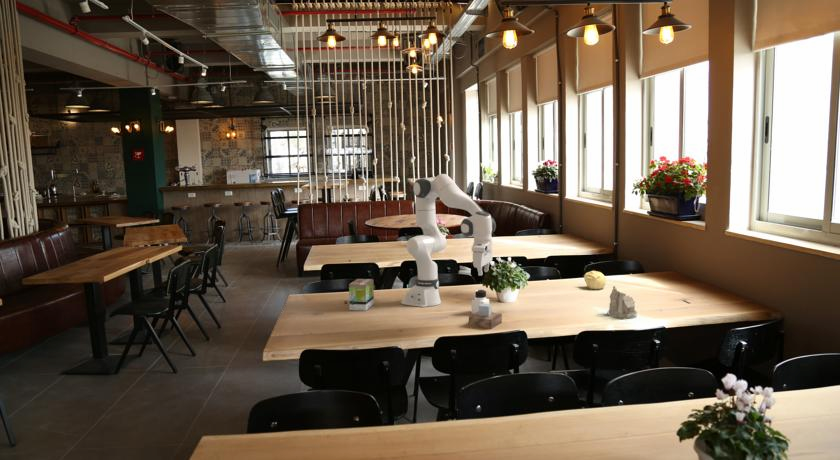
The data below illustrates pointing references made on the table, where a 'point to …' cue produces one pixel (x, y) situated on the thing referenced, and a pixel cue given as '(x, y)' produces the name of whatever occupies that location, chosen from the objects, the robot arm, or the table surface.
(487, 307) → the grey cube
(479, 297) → the medicine bottle
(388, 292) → the table surface
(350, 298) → the tea box
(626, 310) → the grey rock
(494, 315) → the walnut block
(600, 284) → the pale yellow lumpy ball
